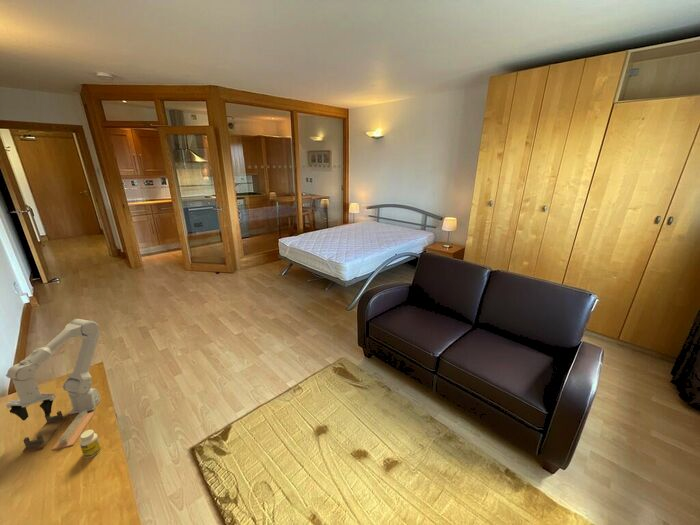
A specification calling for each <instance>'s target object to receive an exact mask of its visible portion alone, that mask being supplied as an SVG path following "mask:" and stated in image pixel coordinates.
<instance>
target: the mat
mask: <svg viewBox="0 0 700 525" xmlns="http://www.w3.org/2000/svg"><path fill="white" fill-rule="evenodd" d="M87 413H88V415H87V417H86V418H85V419H84V421H83V422H82V424H81V425H80V427H79V428H78V430H77V431H76V433H75V434H74V435H73V437H72V438H71V440H70V441H69V443H68V444H64V445H60V443H59V440H60V439H61V437H62V436H63V435H64V433H65V432H66V431H67V429H68V428H69V426H70V425H71V424H72V422H73V421H74V420H75V418H76V417H77V416H78V414H76V415H75V417H73V419H72V421H71V423H69V424H68V426H67V427H66V429H65V431H64V432H63V433H62V434H61V436H60V437H59V438H58V440H57V442H56V443H55V444H54V445H53V447H52V448H51V450H52V451H55V450H58V449H64V448H68V447H71V446H75V444H76V442H77V441H78V439H79V438H80V436H81V434H82V433H83V432H84V430H86V427H87V426H88V424H90V421H91V420H92V419H93V417H94V415H95V414H96V412H95V411H93V412H87Z"/></svg>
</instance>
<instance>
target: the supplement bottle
mask: <svg viewBox="0 0 700 525" xmlns="http://www.w3.org/2000/svg"><path fill="white" fill-rule="evenodd" d="M98 436H99V435H98V434H97V433H95V430H94V429H87V430H85V431H83V432H82V433H81V435H80V436H79V438H80V439H79V440H80V441H79V447H80V449H81V453H82V456H83V457H84V458H85V459H87V458H89V459H90V458H92V457H94V456H96V455H97V454H98V453H99V452H100V451H101V449H102V446H101V443H100V439H99V437H98Z"/></svg>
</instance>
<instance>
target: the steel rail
mask: <svg viewBox="0 0 700 525" xmlns="http://www.w3.org/2000/svg"><path fill="white" fill-rule="evenodd" d="M88 413H89V412H88V411H81V412H80V413H77V415H78V416H77V417H76V416H75V417H76V418H75V417H74V418H75V420H74V419H73V420H74V421H73V420H72V421H73V422H72V421H71V422H72V424H71V423H70V424H71V425H70V424H69V425H70V426H69V425H68V426H69V428H68V427H67V428H68V429H67V428H66V429H67V431H66V432H65V431H64V432H65V433H64V432H63V433H64V435H63V436H62V435H61V436H62V437H61V436H60V437H61V439H60V438H59V439H60V440H59V439H58V440H59V443H60V445H64V444H68V443H69V441H70V440H71V438H72V437H73V435H74V434H75V433H76V431H77V430H78V428H79V427H80V425H81V424H82V422H83V421H84V419H85V418H86V417H87V415H88Z"/></svg>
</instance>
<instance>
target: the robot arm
mask: <svg viewBox="0 0 700 525" xmlns="http://www.w3.org/2000/svg"><path fill="white" fill-rule="evenodd" d="M99 327H100V324H98V323H97V322H96V321H94V320H87V319H82V318H75V319H72V320H71V321H70V322H69V323H67V324H66V325H65V327H64V329H63V330H62V331H60V332H59V334H57V335H56V336H55V337H54V338H53V339H51V341H50V342H48V343H47V344H46V345H45V346H43V347H38V348H37V349H34V350H32V351H31V353H30V354H29V355H28V356H27V357H26V358H24V359H21V361H20V362H19V363H16V364H13V365H12V366H10V368H8V369H7V370H8V371H7V373H6V374H5V376H6V377H7V378H9V379H11V380H12V383H13V386H14V389H15V391H16V394H17V396H18V398H17V399H13V400H10V401H8V403H6V407H7V409H9V413H10V414H14V415H16V416H17V417H18V418H20V419H21V420H22V421H26V420H27V419H28V418H29V414H28V410H27V407H30V405H33V404H37V403H39V402H42V403H41V404H40V405H39V407H40V408H41V409H42V410H43V412H44V416H45V415H46V416H49V415H50V416H51V413H52V406H53V402H54V400H55V399H56V393H41V391H40V388H39V386H38V383H37V381H36V377H35V374H36V372H37V370H38V369H39V367H41V366H42V365H43V364H44V363H45V362H46V361H48V360H49V359H50V358H51V357H52V356H53V352H54V351H55V350H57V349H58V348H59V347H61V346H62V345H63V344H64V343H66V342H67V341H69V340H70V339H71V338H75V337H81V338H82V341H81V342H82V343H81V346H80V349H79V351H78V352H79V353H78V355H77V360H76V362H75V366H74V369H73V372H71V373H70V374H69V375H68V376H67V379H66V380H65V381H64V382H63V385H62V389H63V390H64V391H66V392H67V393H68V397H69V400H70V403H71V406H72V409H71V410H70V412H69V413H68V414H69V415H75V414H79V413H80V412H81V411H87V412H89V411H94V410H95V409H96V407H97V406H98V404H99V402H100V401H101V400H102V399H101V398H102V397H100V393H99V391H98V388H96V387H95V388H94V387H93V388H92V385H93V384H92V383H93V382H92V379H93V378H92V375H91V373H90V369H91V365H92V363H93V362H92V361H93V358H94V354H95V351H96V348H97V345H98V341H99V337H100V333H99ZM10 408H11V409H10Z"/></svg>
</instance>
